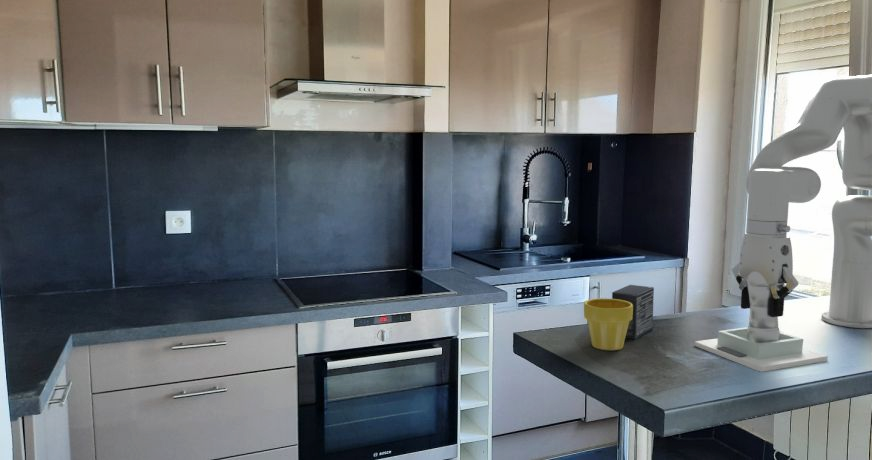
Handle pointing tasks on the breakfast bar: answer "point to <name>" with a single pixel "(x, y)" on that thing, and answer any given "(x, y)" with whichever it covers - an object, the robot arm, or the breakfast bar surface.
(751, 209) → the robot arm
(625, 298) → the small box
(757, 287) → the metal bottle
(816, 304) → the breakfast bar surface
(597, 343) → the plant pot
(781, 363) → the charging dock
